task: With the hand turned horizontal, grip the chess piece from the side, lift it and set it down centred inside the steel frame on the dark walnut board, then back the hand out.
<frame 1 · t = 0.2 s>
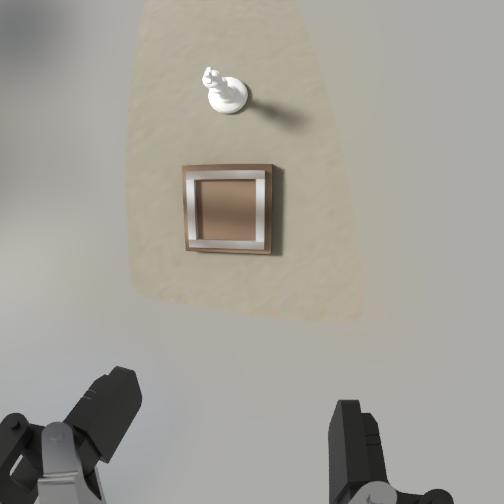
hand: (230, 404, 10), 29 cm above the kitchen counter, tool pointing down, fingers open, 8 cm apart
walnut board: (228, 207, 37), on the kitchen counter
chess piece: (228, 95, 33), on the kitchen counter
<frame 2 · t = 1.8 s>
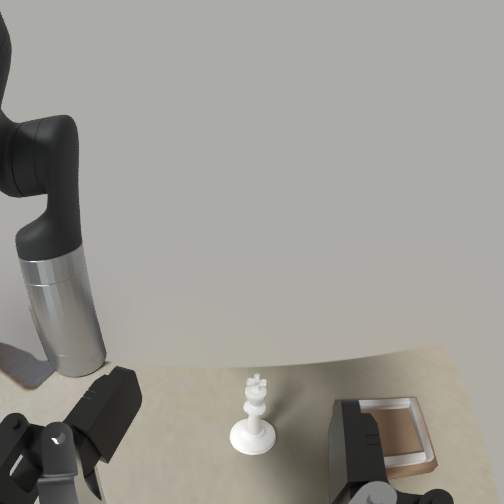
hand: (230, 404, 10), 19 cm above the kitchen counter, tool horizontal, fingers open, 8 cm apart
walnut board: (381, 440, 25), on the kitchen counter
chess piece: (252, 438, 27), on the kitchen counter
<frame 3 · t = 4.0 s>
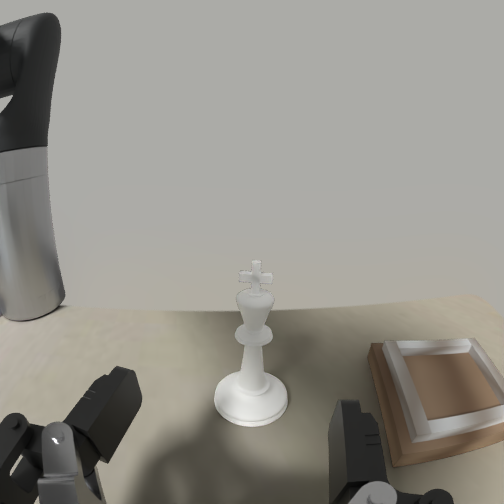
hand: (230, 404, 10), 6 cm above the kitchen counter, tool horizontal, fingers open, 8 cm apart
walnut board: (443, 398, 16), on the kitchen counter
chess piece: (250, 401, 18), on the kitchen counter
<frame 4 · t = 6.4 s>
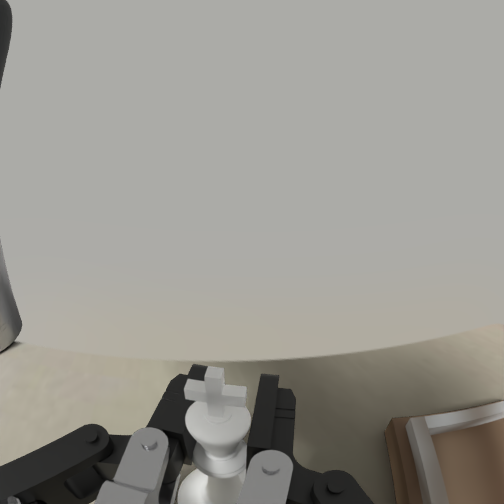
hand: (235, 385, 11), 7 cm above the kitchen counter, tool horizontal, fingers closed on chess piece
walnut board: (472, 482, 9), on the kitchen counter
chess piece: (226, 503, 11), on the kitchen counter, touching gripper
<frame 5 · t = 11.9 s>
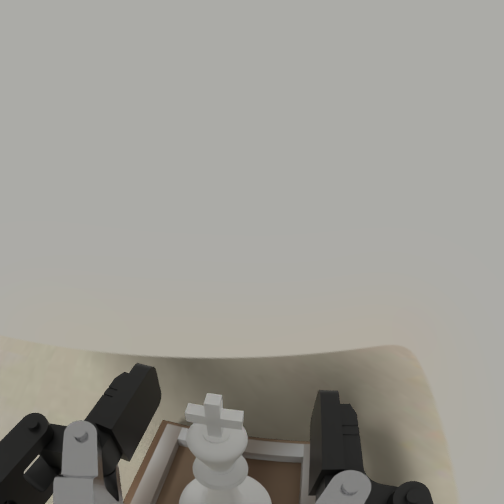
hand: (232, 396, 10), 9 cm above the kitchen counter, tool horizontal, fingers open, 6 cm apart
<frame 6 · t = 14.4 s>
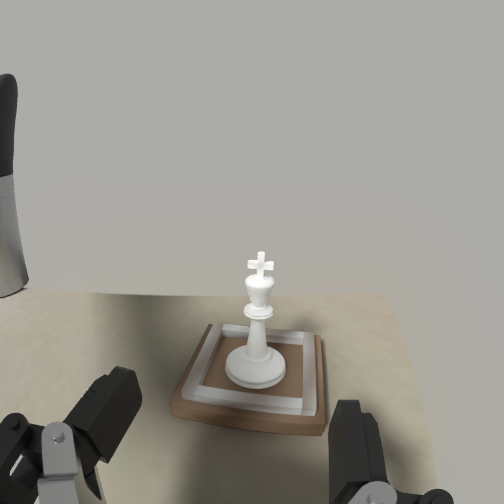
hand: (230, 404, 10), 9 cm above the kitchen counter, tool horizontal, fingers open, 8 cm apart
walnut board: (255, 380, 23), on the kitchen counter
chess piece: (255, 370, 23), point 1 cm above the kitchen counter, touching walnut board
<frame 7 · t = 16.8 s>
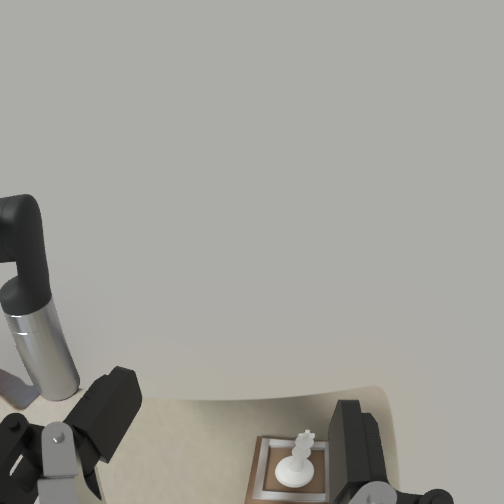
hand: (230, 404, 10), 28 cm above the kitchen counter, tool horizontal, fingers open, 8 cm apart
walnut board: (293, 476, 29), on the kitchen counter
chess piece: (294, 472, 29), point 1 cm above the kitchen counter, touching walnut board
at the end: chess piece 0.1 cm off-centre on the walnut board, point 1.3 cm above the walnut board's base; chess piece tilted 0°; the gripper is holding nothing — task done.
